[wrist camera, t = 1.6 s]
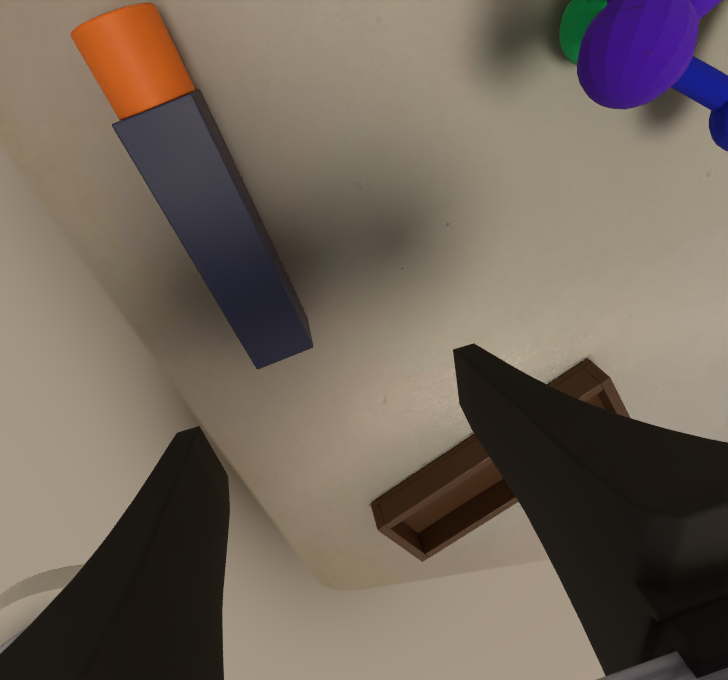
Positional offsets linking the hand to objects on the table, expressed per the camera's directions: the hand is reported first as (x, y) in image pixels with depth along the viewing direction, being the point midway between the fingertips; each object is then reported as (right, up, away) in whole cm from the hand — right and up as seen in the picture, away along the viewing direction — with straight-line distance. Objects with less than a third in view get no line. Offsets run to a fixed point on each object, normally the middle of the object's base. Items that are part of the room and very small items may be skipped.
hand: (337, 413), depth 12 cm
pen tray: (+9, -6, +17) cm, 20 cm away
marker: (-5, +7, +5) cm, 10 cm away
